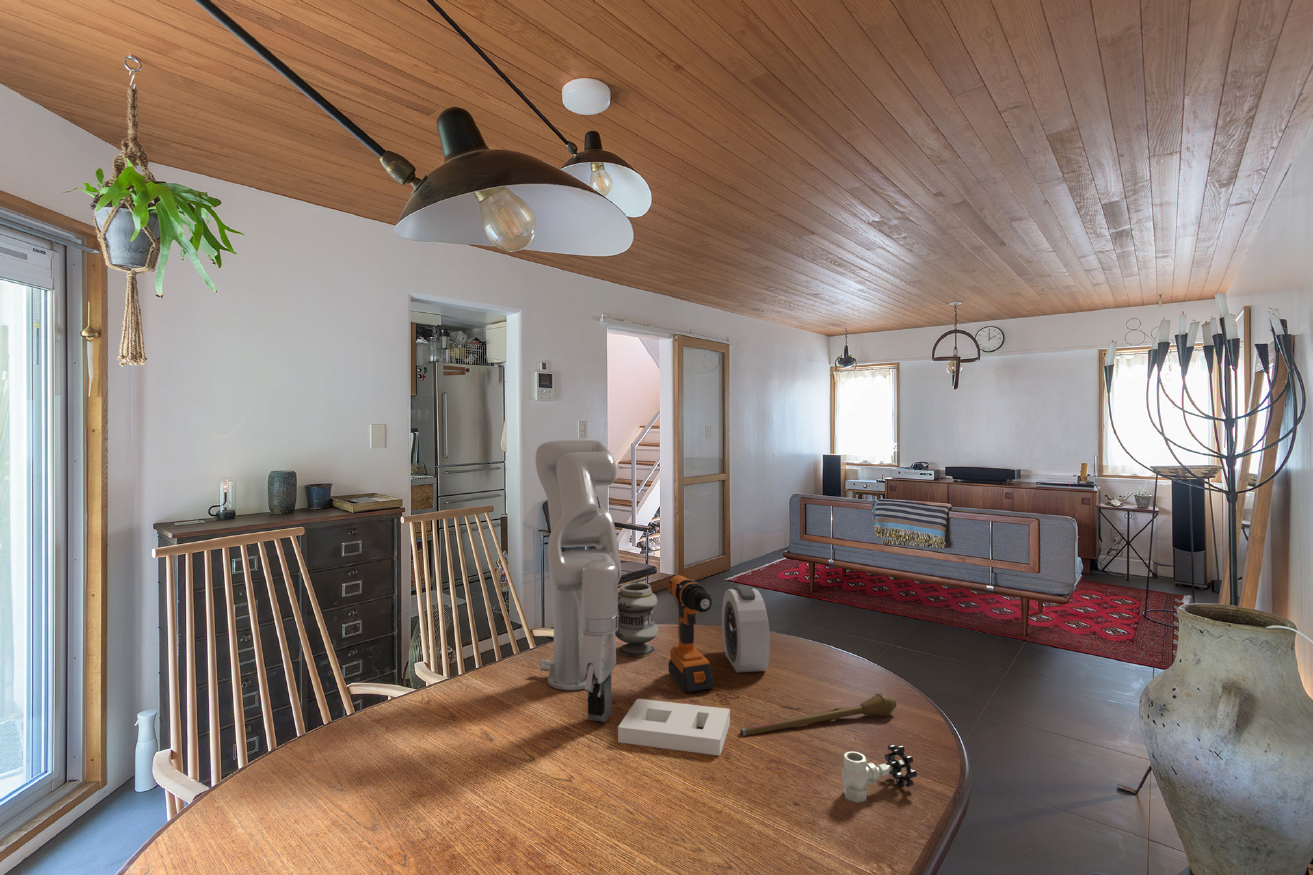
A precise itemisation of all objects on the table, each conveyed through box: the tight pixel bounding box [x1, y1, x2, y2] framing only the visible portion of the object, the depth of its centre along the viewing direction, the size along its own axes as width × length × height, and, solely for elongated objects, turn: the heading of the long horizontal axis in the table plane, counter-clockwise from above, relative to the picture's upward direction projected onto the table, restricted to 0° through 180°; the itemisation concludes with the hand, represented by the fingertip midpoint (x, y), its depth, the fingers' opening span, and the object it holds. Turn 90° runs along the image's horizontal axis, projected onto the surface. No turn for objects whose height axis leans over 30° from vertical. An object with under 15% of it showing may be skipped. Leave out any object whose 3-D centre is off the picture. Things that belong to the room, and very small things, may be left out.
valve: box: [841, 744, 918, 804], centre depth 101 cm, size 7×7×12 cm
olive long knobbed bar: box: [739, 693, 897, 737], centre depth 124 cm, size 5×35×5 cm
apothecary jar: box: [615, 582, 659, 658], centre depth 167 cm, size 12×12×18 cm
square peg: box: [587, 675, 612, 723], centre depth 126 cm, size 4×4×8 cm
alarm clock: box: [721, 584, 771, 674], centre depth 158 cm, size 21×8×20 cm, turn 6°
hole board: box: [617, 698, 731, 757], centre depth 121 cm, size 20×13×3 cm, turn 75°
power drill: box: [667, 574, 714, 693], centre depth 143 cm, size 22×7×25 cm, turn 16°
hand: (599, 708), depth 126 cm, fingers closed on square peg, 3 cm apart
